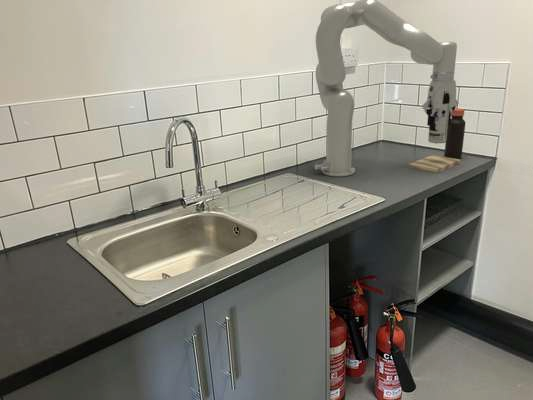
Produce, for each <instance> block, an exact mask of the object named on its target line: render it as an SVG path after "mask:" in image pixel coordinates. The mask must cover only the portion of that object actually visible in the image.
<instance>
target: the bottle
mask: <svg viewBox="0 0 533 400" xmlns="http://www.w3.org/2000/svg"><path fill="white" fill-rule="evenodd" d="M465 111H466V110H465V109H463V108H455V110H454V111H453V113H452V114H451V121H450V124H449V125H448V129H447V139H446V142H445V143H444V144H445V145H444V154H443V157H448V158H454V159H459V160H461V159H462V155H463V147H464V139H465V130H466V121H465V119H464V116H465Z"/></svg>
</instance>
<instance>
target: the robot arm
mask: <svg viewBox="0 0 533 400" xmlns="http://www.w3.org/2000/svg"><path fill="white" fill-rule="evenodd" d="M358 26H359V27H360V26H366V27H367V28H369V29H370V30H372V31H373V32H375V33H376V34H377V35H378V36H380V37H381V38H382V39H383V40H385V41H386V42H389V43H390V44H393V45H396V46H399V47H401V48H404V49H406V50H408V51H410V58H411V59H412V61H413V62H414V63H417V64H421V65H430V66H431V65H432V74H431V75H430V79H431V81H430V83H429V87H428V91H427V98H426V99H427V100H426V101H425V102H424V103H423V104H422V106H421V108H422V109H423V111H424V112H425V114H426V116H427V122H426V123H427V127H429V126H432V127H434V123H435V116H434V114H435V111H436V109H441V108H442V103H443V101H442V100H443V96H444V91H445V92H446V93H448V92H449V93H448V94H449V97H450V102H449V108H450V109H449V119H448V125H449V124H450V121H451V118H452V116H451V114H452V113H453V111H454V110H455V109H457V106H458V105H459V103H460V102H459V101H458V100H457V82H456V79H454V78H455V69H456V62H457V61H456V58H457V49H458V46H457V43H456V42H455V41H437V40H436V39H435V38H433V37H432V36H431V35H430V34H428V33H427V32H426V31H424V30H422V29H421V28H418V27H416V25H415V26H414V25H413V24H411V23H410V22H408V21H406V20H405V19H403V18H401V17H400V16H399V15H397V14H396V13H395V12H394V11H392V10H391V9H390V8H388V7H387V6H386V5H384V4H383V3H382V2H381V1H379V0H357V1H351V2H347V3H342V4H341V3H336V4H333V5H330V6H327V7H326V8H325V9H324V10H323V12H322V13H321V14H320V22H319V24H318V26H317V30H316V32H315V33H316V34H315V47H316V55H317V60H318V64H317V65H316V67H315V79H316V84H317V89H318V92H319V93H318V94H319V98H320V101H321V105H322V106H323V108H324V109H325V110H327V116H326V126H325V127H326V129H325V131H326V135H325V136H326V138H325V139H326V143H325V144H326V145H325V146H326V148H325V150H326V151H325V153H326V159H325V160H323V163H321V164H314V170H316V171H317V170H320V171H321V173H323V175H326V176H330V177H347V176H348V177H349V176H353V174H355V173H356V169H355V168H354V167H353V166H352V144H353V143H352V142H353V140H352V139H353V138H352V137H353V119H354V118H353V116H354V112H355V100H354V97H353V95H352V93H350V92H349V91H348V90H347V89H344V86H343V82H345V80H346V75H347V71H346V66H345V62H344V57H343V52H342V45H341V39H342V38H341V37H342V33H343V31H344V30H346V29H351V28H355V27H358ZM447 91H448V92H447ZM446 93H445V94H446ZM432 109H433V110H432ZM431 111H432V112H431Z"/></svg>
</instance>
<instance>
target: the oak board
mask: <svg viewBox="0 0 533 400" xmlns="http://www.w3.org/2000/svg"><path fill="white" fill-rule="evenodd" d="M460 164H461V159H454V158H448V157H444V156H441V155H436V154H431V155H428V156H426V157H424V158H421V159H418V160H415V161H413V162H410V163H408V168H409V169H415V170H419V171H424V172H428V173H433V174H439V173H441V172H444V171H445V170H448V169H450V168H452V167H455V166H457V165H460Z"/></svg>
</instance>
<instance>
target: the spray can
mask: <svg viewBox="0 0 533 400" xmlns="http://www.w3.org/2000/svg"><path fill="white" fill-rule="evenodd" d="M447 92H448V91H447ZM445 93H446V92H445V91H444V96H443V100H442V101H443V103H442V108H441V109H436V111H435V114H434V116H435V123H434V127H432V126H428V127H429V128H428V139H427V140H428V142H429V143H432V144H446V139H447V129H448V119H449V109H450V108H449V102H450V97H449V94H448V93H449V92H448V93H446V94H445ZM432 110H433V109H432ZM431 112H432V111H431Z"/></svg>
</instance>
